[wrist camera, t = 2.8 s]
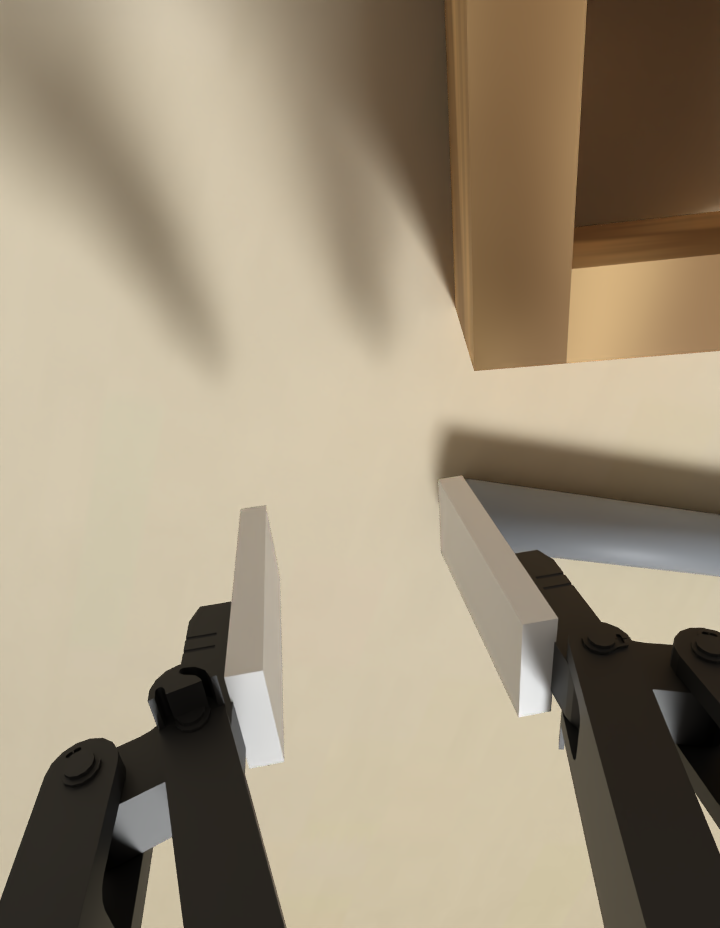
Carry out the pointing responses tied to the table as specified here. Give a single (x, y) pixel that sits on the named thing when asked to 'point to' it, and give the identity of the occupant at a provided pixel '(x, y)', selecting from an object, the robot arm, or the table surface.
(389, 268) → the table surface
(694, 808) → the robot arm
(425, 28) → the table surface
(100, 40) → the table surface
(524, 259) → the light wooden square box
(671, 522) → the gray tube
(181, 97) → the table surface
